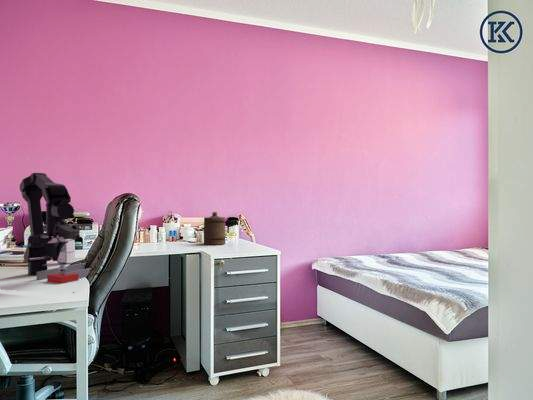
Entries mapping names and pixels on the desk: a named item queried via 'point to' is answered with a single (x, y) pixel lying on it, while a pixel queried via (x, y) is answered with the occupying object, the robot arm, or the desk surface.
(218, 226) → the wooden container
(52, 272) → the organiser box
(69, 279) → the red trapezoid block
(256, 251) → the desk surface
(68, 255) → the syrup box
